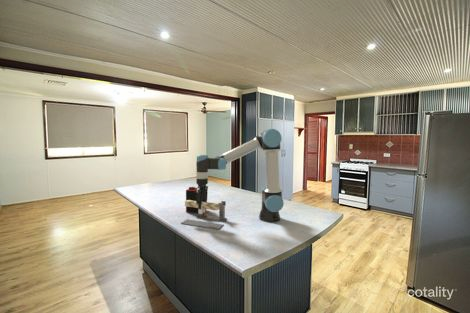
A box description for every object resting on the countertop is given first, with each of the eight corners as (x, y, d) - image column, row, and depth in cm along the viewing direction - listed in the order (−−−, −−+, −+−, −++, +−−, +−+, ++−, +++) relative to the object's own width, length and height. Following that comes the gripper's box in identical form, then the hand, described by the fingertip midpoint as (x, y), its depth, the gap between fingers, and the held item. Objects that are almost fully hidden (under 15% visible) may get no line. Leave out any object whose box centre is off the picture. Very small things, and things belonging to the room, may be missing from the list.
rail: (219, 208, 150) (219, 203, 150) (217, 210, 147) (217, 205, 147) (187, 204, 158) (187, 199, 158) (184, 206, 155) (184, 201, 155)
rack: (226, 219, 164) (226, 201, 164) (223, 222, 159) (223, 203, 158) (200, 215, 172) (201, 198, 171) (197, 218, 166) (197, 200, 165)
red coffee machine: (207, 210, 185) (208, 186, 183) (202, 214, 175) (202, 188, 174) (190, 208, 189) (190, 184, 188) (184, 212, 179) (184, 187, 178)
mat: (223, 225, 152) (223, 224, 152) (218, 229, 145) (218, 228, 145) (187, 220, 162) (187, 219, 162) (180, 223, 154) (180, 223, 154)
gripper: (203, 175, 160) (202, 208, 162) (190, 179, 145) (190, 215, 146) (212, 176, 158) (212, 209, 159) (201, 180, 142) (200, 217, 144)
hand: (201, 212), depth 153 cm, fingers closed on rail, 3 cm apart
